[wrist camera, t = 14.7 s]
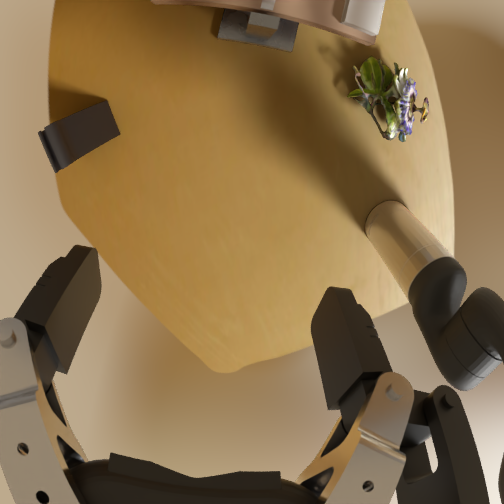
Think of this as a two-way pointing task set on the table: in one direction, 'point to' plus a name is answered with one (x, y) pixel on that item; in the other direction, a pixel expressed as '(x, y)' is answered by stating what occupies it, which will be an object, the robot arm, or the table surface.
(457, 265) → the robot arm
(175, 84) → the table surface
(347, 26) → the beam
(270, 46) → the pivot stand
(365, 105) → the passion flower
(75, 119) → the phone stand
